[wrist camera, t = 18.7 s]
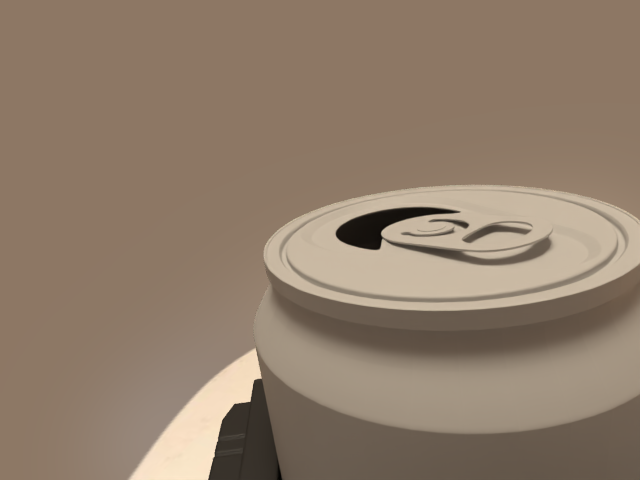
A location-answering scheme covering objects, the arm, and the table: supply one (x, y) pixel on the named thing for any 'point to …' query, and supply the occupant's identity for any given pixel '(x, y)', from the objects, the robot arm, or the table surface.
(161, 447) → the table surface
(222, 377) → the table surface
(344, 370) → the beverage can
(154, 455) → the table surface
